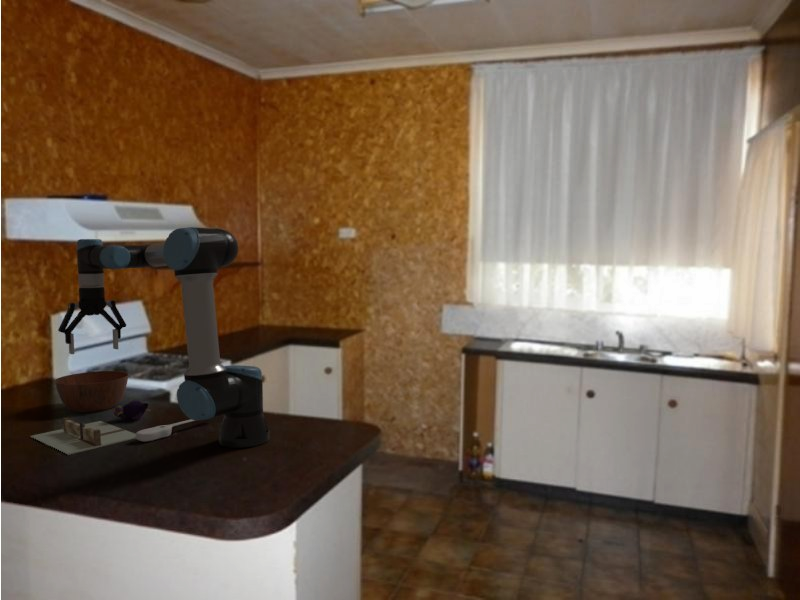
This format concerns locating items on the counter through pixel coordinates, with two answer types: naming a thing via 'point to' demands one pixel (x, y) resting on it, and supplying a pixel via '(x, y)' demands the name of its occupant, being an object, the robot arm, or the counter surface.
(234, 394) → the robot arm
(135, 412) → the toy
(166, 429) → the spatula
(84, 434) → the fence fixed
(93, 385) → the bowl
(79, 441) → the card
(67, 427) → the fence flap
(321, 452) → the counter surface
